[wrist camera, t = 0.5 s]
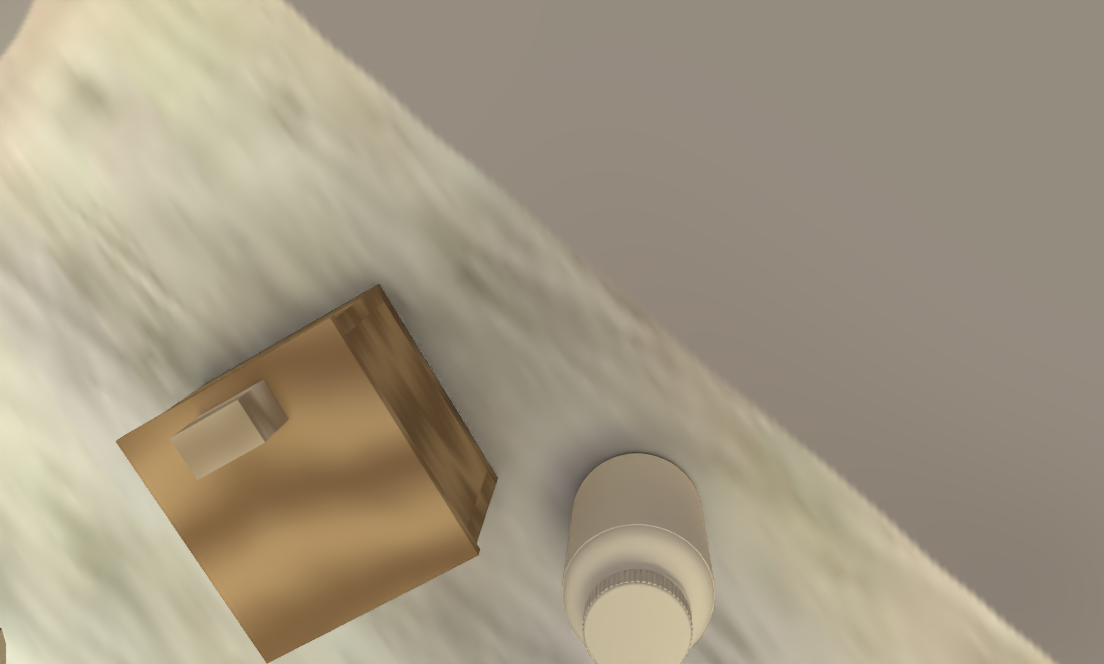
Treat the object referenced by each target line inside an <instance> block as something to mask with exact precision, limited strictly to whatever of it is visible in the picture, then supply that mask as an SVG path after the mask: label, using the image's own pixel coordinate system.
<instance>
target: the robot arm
mask: <svg viewBox="0 0 1104 664" xmlns="http://www.w3.org/2000/svg"><path fill="white" fill-rule="evenodd" d="M0 664H6V642H5V639H4V636H3V632H2V629H1V628H0Z"/></svg>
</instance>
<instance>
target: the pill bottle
mask: <svg viewBox="0 0 1104 664" xmlns="http://www.w3.org/2000/svg"><path fill="white" fill-rule="evenodd" d="M562 600H563V606H564V610H565V613H566V616H567V618H568V621H569V623H570V625H571V626H572V628H573V630H574V631H575V633H576V634H577V636H578V637H579V638H580V639H581V641H582V642H583V643H584V644H585V647H586V648H587V651H588V653H590V656H591V657H592V658H593V660H594V661H595V662H596V664H681V662H682V661H683V660H684V658H685V657H686V656H687V653H688V652H689V649H690V648H691V647H692V646H693V645H694V644H695V643H696V642H697V641H698V639H699V638H700V637H701V635H702V634H703V632H704V631H705V629H706V627H707V625H708V623H709V621H710V619H711V616H712V613H713V609H714V603H715V586H714V578H713V572H712V566H711V560H710V554H709V547H708V541H707V535H706V529H705V523H704V517H703V510H702V505H701V501H700V498H699V496H698V493H697V491H696V489H695V487H694V485H693V484H692V482H691V481H690V479H689V478H688V477H687V476H686V474H685V473H684V472H683V471H681V470H680V469H679V468H678V467H677V466H675V465H674V464H672V463H671V462H669V461H667V460H665V459H662V458H660V457H657V456H653V455H649V454H640V453H634V454H625V455H620V456H617V457H614V458H611V459H609V460H607V461H605V462H603V463H602V464H600V465H599V466H597V467H596V468H595V469H594V470H592V471H591V472H590V473H589V475H588V476H587V477H586V478H585V480H584V481H583V483H582V484H581V486H580V488H579V490H578V492H577V495H576V497H575V501H574V505H573V511H572V518H571V525H570V532H569V539H568V546H567V553H566V560H565V567H564V574H563V582H562Z"/></svg>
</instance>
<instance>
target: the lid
mask: <svg viewBox="0 0 1104 664" xmlns="http://www.w3.org/2000/svg"><path fill="white" fill-rule="evenodd" d="M116 443H117V444H118V445H119V447H120V448H121V450H122V451H123V453H124V454H125V456H126V457H127V459H128V460H129V462H130V463H131V465H132V466H133V468H134V469H135V470H136V472H137V473H138V475H139V476H140V478H141V479H142V481H143V482H144V484H145V485H146V487H147V488H148V490H149V491H150V492H151V494H152V495H153V497H154V498H155V500H156V501H157V503H158V504H159V506H160V507H161V509H162V510H163V512H164V513H165V515H166V516H167V517H168V519H169V520H170V522H171V523H172V525H173V526H174V528H175V529H176V531H177V532H178V534H179V535H180V537H181V538H182V539H183V541H184V542H185V544H186V545H187V547H188V548H189V550H190V551H191V553H192V554H193V556H194V557H195V559H196V560H197V562H198V563H199V564H200V566H201V567H202V569H203V570H204V572H205V573H206V575H207V576H208V578H209V579H210V581H211V582H212V584H213V585H214V587H215V588H216V589H217V591H218V592H219V594H220V595H221V597H222V598H223V600H224V601H225V603H226V604H227V606H228V607H229V609H230V610H231V611H232V613H233V614H234V616H235V617H236V619H237V620H238V622H239V623H240V625H241V626H242V628H243V629H244V631H245V632H246V634H247V635H248V636H249V638H250V639H251V641H252V642H253V644H254V645H255V647H256V648H257V650H258V651H259V653H260V654H261V656H262V657H263V658H264V660H265V661H266V663H269V662H271V661H273V660H275V659H277V658H279V657H281V656H283V655H285V654H287V653H289V652H291V651H292V650H294V649H296V648H298V647H300V646H302V645H304V644H306V643H308V642H310V641H312V640H314V639H316V638H318V637H320V636H322V635H324V634H326V633H328V632H330V631H332V630H333V629H335V628H337V627H339V626H341V625H343V624H345V623H347V622H349V621H351V620H353V619H355V618H357V617H359V616H361V615H363V614H365V613H367V612H369V611H371V610H372V609H374V608H376V607H378V606H380V605H382V604H384V603H386V602H388V601H390V600H392V599H394V598H396V597H398V596H400V595H402V594H404V593H406V592H408V591H410V590H412V589H413V588H415V587H417V586H419V585H421V584H423V583H425V582H427V581H429V580H431V579H433V578H435V577H437V576H439V575H441V574H443V573H445V572H447V571H449V570H451V569H452V568H454V567H456V566H458V565H460V564H462V563H464V562H466V561H468V560H470V559H472V558H474V557H476V556H478V555H479V552H480V548H479V547H478V545H477V544H476V542H475V540H474V539H473V537H472V535H471V534H470V532H469V531H468V529H467V527H466V526H465V524H464V523H463V521H462V519H461V518H460V516H459V515H458V513H457V511H456V510H455V508H454V507H453V505H452V503H451V502H450V500H449V499H448V497H447V495H446V494H445V492H444V491H443V489H442V487H441V486H440V484H439V483H438V481H437V479H436V478H435V476H434V475H433V473H432V471H431V470H430V468H429V467H428V465H427V463H426V462H425V460H424V459H423V457H422V455H421V454H420V452H419V451H418V449H417V447H416V446H415V444H414V443H413V441H412V439H411V438H410V436H409V435H408V433H407V431H406V430H405V428H404V427H403V425H402V423H401V422H400V420H399V419H398V417H397V415H396V414H395V412H394V411H393V409H392V407H391V406H390V404H389V403H388V401H387V399H386V398H385V396H384V395H383V393H382V391H381V390H380V388H379V386H378V385H377V383H376V382H375V380H374V378H373V377H372V375H371V374H370V372H369V370H368V369H367V367H366V366H365V364H364V362H363V361H362V359H361V358H360V356H359V354H358V353H357V351H356V350H355V348H354V346H353V345H352V343H351V342H350V340H349V338H348V337H347V335H346V334H345V332H344V330H343V329H342V327H341V326H340V324H339V322H338V321H337V319H336V318H335V316H334V315H333V316H331V317H330V318H328V319H326V320H324V321H323V322H321V323H319V324H317V325H316V326H314V327H312V328H310V329H309V330H307V331H305V332H303V333H302V334H300V335H298V336H296V337H295V338H293V339H291V340H290V341H288V342H286V343H284V344H283V345H281V346H279V347H277V348H276V349H274V350H272V351H270V352H269V353H267V354H265V355H263V356H262V357H260V358H258V359H256V360H255V361H253V362H251V363H250V364H248V365H246V366H244V367H243V368H241V369H239V370H237V371H236V372H234V373H232V374H230V375H229V376H227V377H225V378H223V379H222V380H220V381H218V382H217V383H215V384H213V385H211V386H210V387H208V388H206V389H204V390H203V391H201V392H199V393H197V394H196V395H194V396H192V397H190V398H189V399H187V400H185V401H183V402H182V403H180V404H178V405H177V406H175V407H173V408H171V409H170V410H168V411H166V412H164V413H163V414H161V415H159V416H157V417H156V418H154V419H152V420H150V421H149V422H147V423H145V424H143V425H142V426H140V427H138V428H137V429H135V430H133V431H131V432H130V433H128V434H126V435H124V436H123V437H121V438H120V439H118V440H117V441H116Z"/></svg>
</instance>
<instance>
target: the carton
mask: <svg viewBox="0 0 1104 664" xmlns="http://www.w3.org/2000/svg"><path fill="white" fill-rule="evenodd" d="M333 315H334V316H335V318H336V319H337V321H338V322H339V324H340V326H341V327H342V329H343V330H344V332H345V334H346V335H347V337H348V338H349V340H350V342H351V343H352V345H353V346H354V348H355V350H356V351H357V353H358V354H359V356H360V358H361V359H362V361H363V362H364V364H365V366H366V367H367V369H368V370H369V372H370V374H371V375H372V377H373V378H374V380H375V382H376V383H377V385H378V386H379V388H380V390H381V391H382V393H383V395H384V396H385V398H386V399H387V401H388V403H389V404H390V406H391V407H392V409H393V411H394V412H395V414H396V415H397V417H398V419H399V420H400V422H401V423H402V425H403V427H404V428H405V430H406V431H407V433H408V435H409V436H410V438H411V439H412V441H413V443H414V444H415V446H416V447H417V449H418V451H419V452H420V454H421V455H422V457H423V459H424V460H425V462H426V463H427V465H428V467H429V468H430V470H431V471H432V473H433V475H434V476H435V478H436V479H437V481H438V483H439V484H440V486H441V487H442V489H443V491H444V492H445V494H446V495H447V497H448V499H449V500H450V502H451V503H452V505H453V507H454V508H455V510H456V511H457V513H458V515H459V516H460V518H461V519H462V521H463V523H464V524H465V526H466V527H467V529H468V531H469V532H470V534H471V535H472V537H473V539H474V540H475V542H476V543H477V540H478V537H479V534H480V531H481V528H482V525H483V522H484V519H485V516H486V513H487V510H488V506H489V503H490V500H491V497H492V494H493V491H494V488H495V485H496V482H497V479H498V478H497V476H496V474H495V473H494V471H493V469H492V468H491V466H490V464H489V463H488V461H487V460H486V458H485V456H484V455H483V453H482V451H481V450H480V448H479V447H478V445H477V443H476V442H475V440H474V438H473V437H472V435H471V433H470V432H469V430H468V429H467V427H466V425H465V424H464V422H463V420H462V419H461V417H460V415H459V414H458V412H457V411H456V409H455V407H454V406H453V404H452V402H451V401H450V399H449V398H448V396H447V394H446V393H445V391H444V389H443V388H442V386H441V384H440V383H439V381H438V380H437V378H436V376H435V375H434V373H433V371H432V370H431V368H430V366H429V365H428V363H427V362H426V360H425V358H424V357H423V355H422V353H421V352H420V350H419V349H418V347H417V345H416V344H415V342H414V340H413V339H412V337H411V335H410V334H409V332H408V331H407V329H406V327H405V326H404V324H403V322H402V321H401V319H400V317H399V316H398V314H397V313H396V311H395V309H394V308H393V306H392V304H391V303H390V301H389V300H388V298H387V296H386V295H385V293H384V291H383V290H382V288H381V286H380V285H379V284H378V285H377V286H375V287H373V288H371V289H370V290H368V291H366V292H364V293H363V294H361V295H359V296H357V297H356V298H354V299H352V300H351V301H349V302H347V303H345V304H344V305H342V306H340V307H338V308H337V309H335V310H333V311H331V312H330V313H328V314H326V315H324V316H323V317H321V318H319V319H318V320H316V321H314V322H312V323H311V324H309V325H307V326H305V327H304V328H302V329H300V330H298V331H297V332H295V333H293V334H291V335H290V336H288V337H286V338H285V339H283V340H281V341H279V342H278V343H276V344H274V345H272V346H271V347H269V348H267V349H265V350H264V351H262V352H260V353H258V354H257V355H255V356H253V357H252V358H250V359H248V360H246V361H245V362H243V363H241V364H239V365H238V366H236V367H234V368H232V369H231V370H229V371H227V372H226V373H224V374H222V375H220V376H219V377H217V378H215V379H213V380H212V381H210V382H208V383H206V384H205V385H203V386H202V387H200V388H199V389H197V390H196V391H194V392H193V393H192V394H190V395H189V396H187V397H186V398H184V399H183V400H181V401H180V402H179V403H177V404H176V405H174V406H173V407H175V406H177V405H178V404H180V403H182V402H183V401H185V400H187V399H189V398H190V397H192V396H194V395H196V394H197V393H199V392H201V391H203V390H204V389H206V388H208V387H210V386H211V385H213V384H215V383H217V382H218V381H220V380H222V379H223V378H225V377H227V376H229V375H230V374H232V373H234V372H236V371H237V370H239V369H241V368H243V367H244V366H246V365H248V364H250V363H251V362H253V361H255V360H256V359H258V358H260V357H262V356H263V355H265V354H267V353H269V352H270V351H272V350H274V349H276V348H277V347H279V346H281V345H283V344H284V343H286V342H288V341H290V340H291V339H293V338H295V337H296V336H298V335H300V334H302V333H303V332H305V331H307V330H309V329H310V328H312V327H314V326H316V325H317V324H319V323H321V322H323V321H324V320H326V319H328V318H330V317H331V316H333ZM173 407H171V408H173ZM171 408H170V409H171ZM170 409H169V410H170ZM167 411H168V410H167Z"/></svg>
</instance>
